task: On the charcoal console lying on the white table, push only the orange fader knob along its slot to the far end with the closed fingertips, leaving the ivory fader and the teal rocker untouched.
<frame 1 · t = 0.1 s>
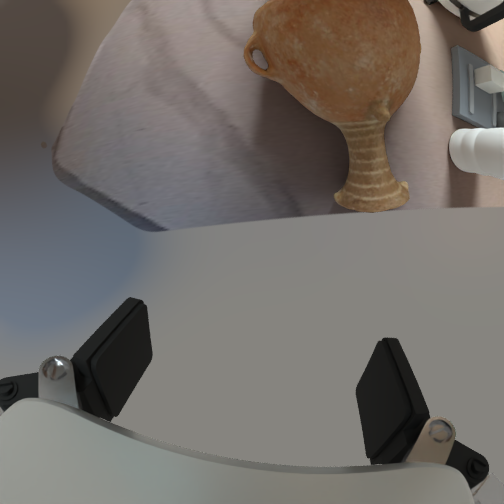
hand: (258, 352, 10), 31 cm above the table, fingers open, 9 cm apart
panel: (493, 102, 27), on the table
jug: (337, 98, 33), on the table
water bottle: (462, 150, 32), on the table
ivory fader: (490, 79, 22), point 5 cm above the table, slide at 0.0 cm
coffee press: (450, 4, 21), on the table
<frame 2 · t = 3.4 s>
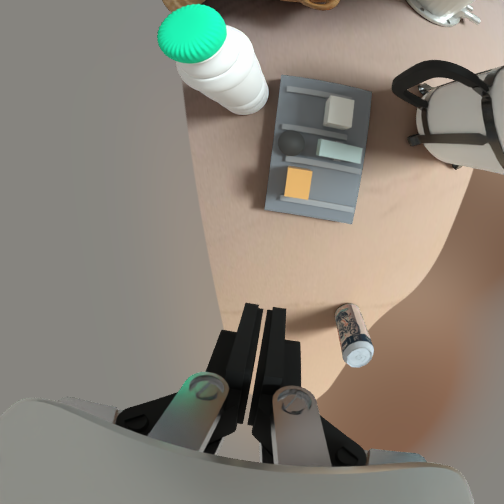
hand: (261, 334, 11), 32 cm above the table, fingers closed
panel: (318, 148, 37), on the table
water bottle: (245, 94, 36), on the table
beer can: (347, 312, 47), on the table
orange fader: (297, 181, 35), point 5 cm above the table, slide at 0.0 cm
teal rocker: (339, 151, 33), point 4 cm above the table, hinge at -12.0°
ivory fader: (337, 113, 31), point 5 cm above the table, slide at 0.0 cm
coffee press: (433, 125, 33), on the table
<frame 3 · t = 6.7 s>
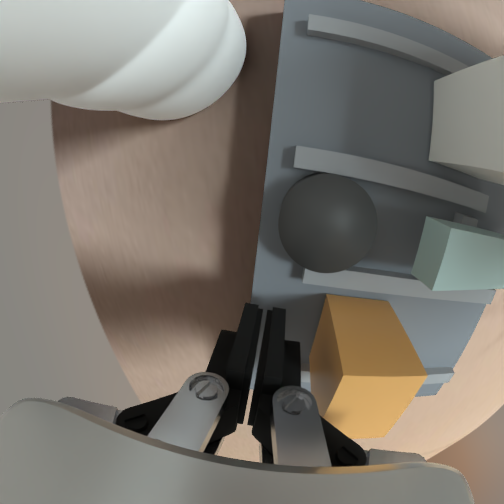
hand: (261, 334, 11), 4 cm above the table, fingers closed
panel: (394, 220, 12), on the table
water bottle: (180, 59, 11), on the table
orange fader: (357, 365, 10), point 5 cm above the table, slide at 0.7 cm, touching gripper
teal rocker: (476, 257, 8), point 4 cm above the table, hinge at -12.0°
ivory fader: (493, 129, 6), point 5 cm above the table, slide at 0.0 cm
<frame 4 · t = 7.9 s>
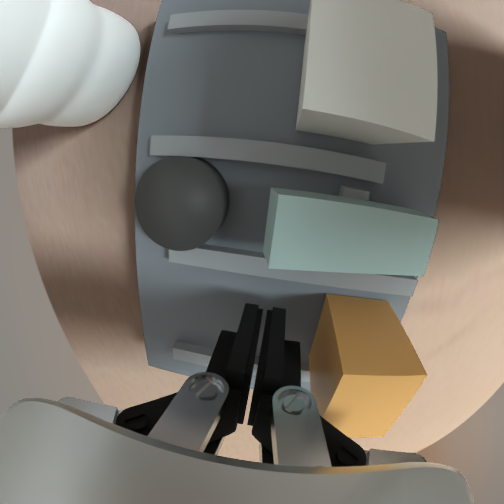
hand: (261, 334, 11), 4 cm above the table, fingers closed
panel: (285, 201, 13), on the table
water bottle: (97, 71, 12), on the table
orange fader: (356, 365, 10), point 5 cm above the table, slide at 6.3 cm, touching gripper
teal rocker: (357, 234, 9), point 4 cm above the table, hinge at -12.0°
ivory fader: (354, 76, 6), point 5 cm above the table, slide at 0.0 cm
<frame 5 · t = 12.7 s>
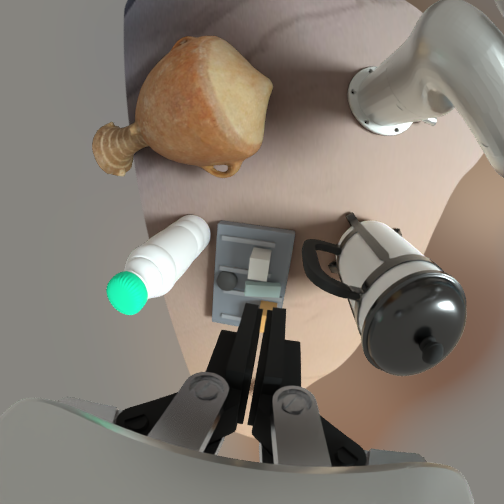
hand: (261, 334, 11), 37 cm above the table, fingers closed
panel: (251, 276, 52), on the table
jug: (190, 118, 43), on the table
water bottle: (193, 232, 50), on the table
orange fader: (266, 316, 48), point 5 cm above the table, slide at 6.5 cm
teal rocker: (262, 289, 47), point 4 cm above the table, hinge at -12.0°
ivory fader: (259, 263, 45), point 5 cm above the table, slide at 0.0 cm
coffee press: (357, 248, 47), on the table
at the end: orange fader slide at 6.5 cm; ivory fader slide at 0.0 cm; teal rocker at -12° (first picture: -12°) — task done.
